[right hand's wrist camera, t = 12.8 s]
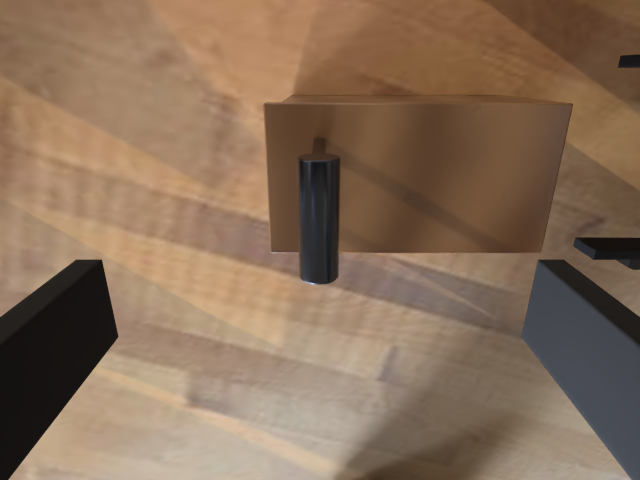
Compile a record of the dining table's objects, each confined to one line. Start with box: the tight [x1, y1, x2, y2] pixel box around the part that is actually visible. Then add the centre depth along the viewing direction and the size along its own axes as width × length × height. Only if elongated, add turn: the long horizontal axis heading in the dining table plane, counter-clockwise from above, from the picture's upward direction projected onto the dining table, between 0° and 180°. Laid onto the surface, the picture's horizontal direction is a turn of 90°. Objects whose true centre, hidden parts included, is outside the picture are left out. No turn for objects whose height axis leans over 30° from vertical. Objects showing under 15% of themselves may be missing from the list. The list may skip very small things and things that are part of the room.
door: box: [263, 102, 573, 284], centre depth 23 cm, size 18×10×9 cm, turn 90°
